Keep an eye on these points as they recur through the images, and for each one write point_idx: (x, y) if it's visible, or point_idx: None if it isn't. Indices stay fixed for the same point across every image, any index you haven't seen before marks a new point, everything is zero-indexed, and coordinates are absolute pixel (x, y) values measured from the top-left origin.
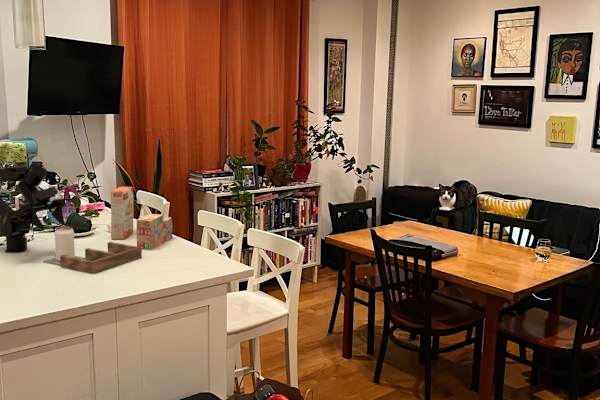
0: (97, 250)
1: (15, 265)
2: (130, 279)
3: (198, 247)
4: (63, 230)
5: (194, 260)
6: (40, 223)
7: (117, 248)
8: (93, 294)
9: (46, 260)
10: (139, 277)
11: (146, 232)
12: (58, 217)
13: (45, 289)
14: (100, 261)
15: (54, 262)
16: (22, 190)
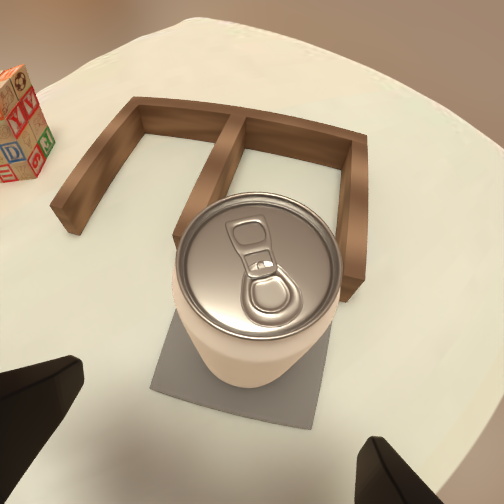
0: (204, 180)
1: None
2: (340, 93)
3: (49, 88)
4: (323, 232)
5: (154, 56)
6: (409, 475)
7: (96, 176)
8: (447, 128)
9: (296, 421)
10: (318, 84)
11: (28, 107)
12: (15, 436)
13: (496, 217)
14: (331, 129)
15: (312, 361)
16: None
